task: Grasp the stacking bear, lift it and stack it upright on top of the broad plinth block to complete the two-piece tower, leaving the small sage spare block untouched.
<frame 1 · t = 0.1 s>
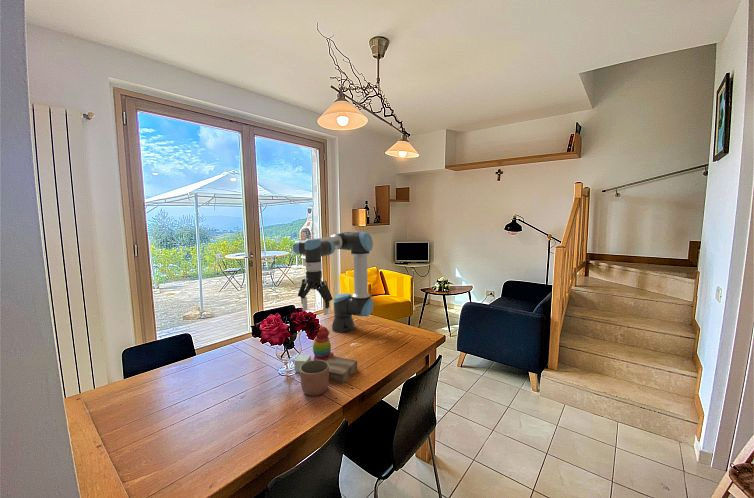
hand: (315, 312, 151), 28 cm above the table, fingers open, 13 cm apart
spare block: (303, 369, 151), on the table
stacking bear: (323, 359, 161), on the table
planter: (315, 390, 133), on the table
plinth: (337, 374, 146), on the table
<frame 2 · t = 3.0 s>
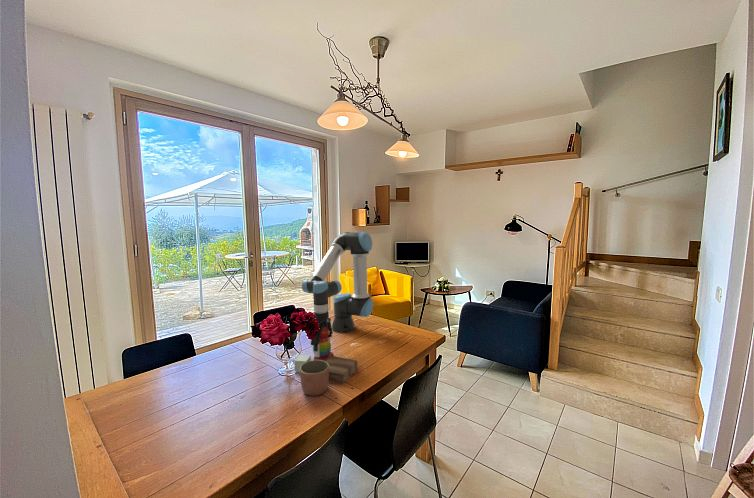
hand: (322, 352, 161), 4 cm above the table, fingers closed on stacking bear, 9 cm apart
stacking bear: (323, 359, 161), on the table, touching gripper
everything else where it was.
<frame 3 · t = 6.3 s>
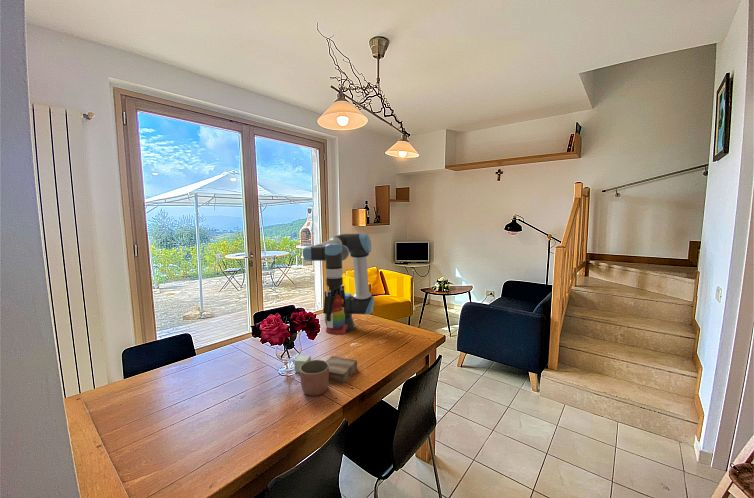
hand: (335, 323, 143), 25 cm above the table, fingers closed on stacking bear, 9 cm apart
stacking bear: (336, 331, 144), point 21 cm above the table, touching gripper
everything else where it was.
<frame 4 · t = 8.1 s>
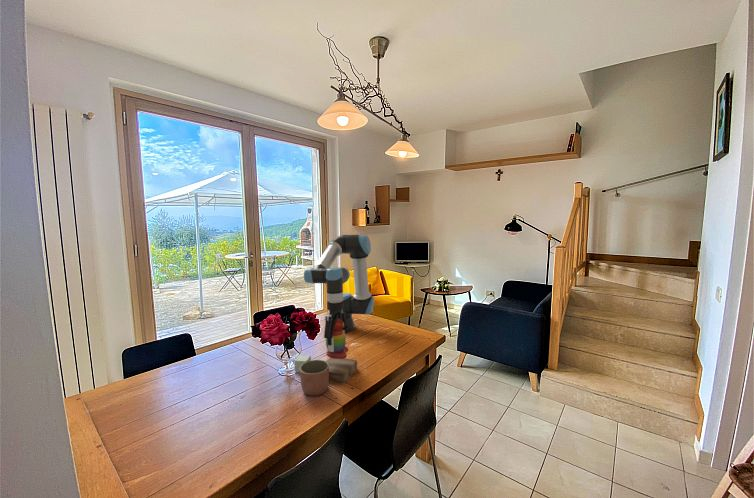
hand: (336, 346, 144), 13 cm above the table, fingers closed on stacking bear, 9 cm apart
stacking bear: (337, 354, 145), point 10 cm above the table, touching gripper
everything else where it was.
when the fingers open (9 cm above the table, at t = 9.5 s): stacking bear drops 1 cm, resting on plinth.
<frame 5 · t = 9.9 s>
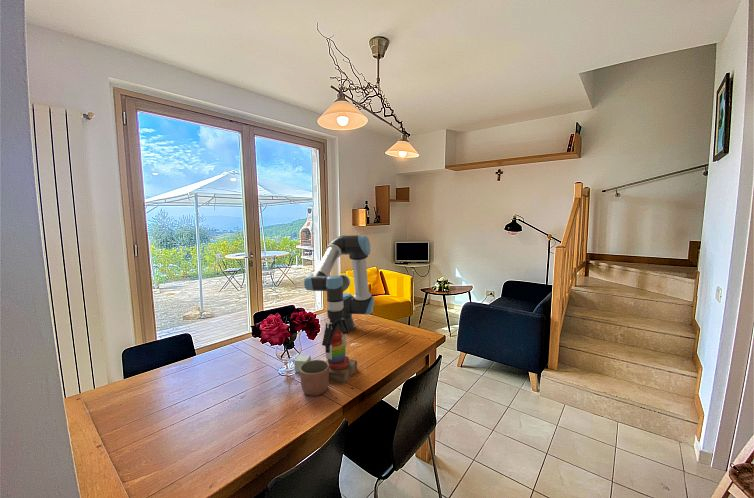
hand: (336, 352, 145), 11 cm above the table, fingers open, 13 cm apart
stacking bear: (337, 364, 146), point 5 cm above the table, touching plinth
plinth: (337, 374, 146), on the table, touching stacking bear
everything else where it was.
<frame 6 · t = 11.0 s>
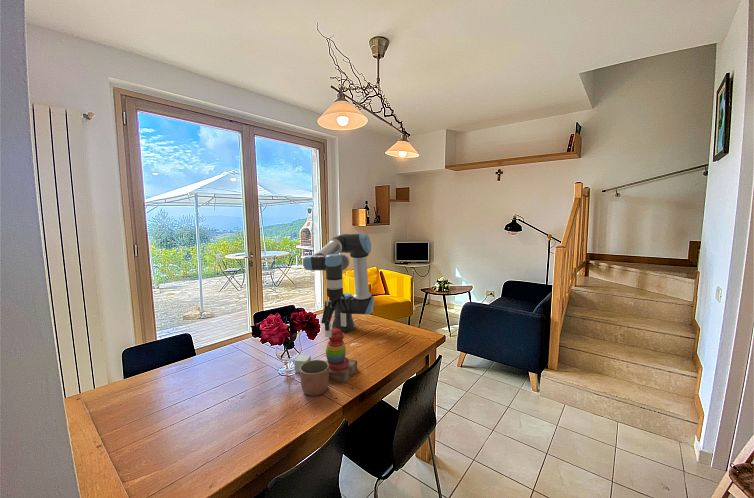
hand: (336, 331, 144), 21 cm above the table, fingers open, 13 cm apart
stacking bear: (337, 365, 146), point 4 cm above the table
plinth: (337, 374, 146), on the table
everything else where it was.
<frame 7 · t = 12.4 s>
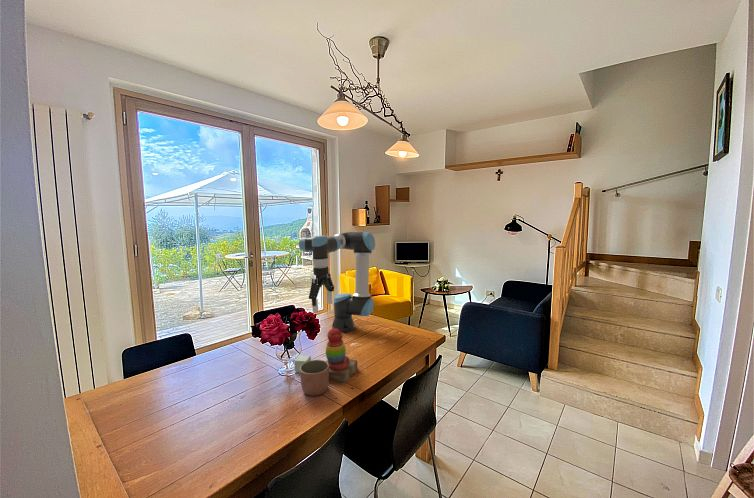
hand: (322, 307, 155), 29 cm above the table, fingers open, 13 cm apart
nothing on the table moved.
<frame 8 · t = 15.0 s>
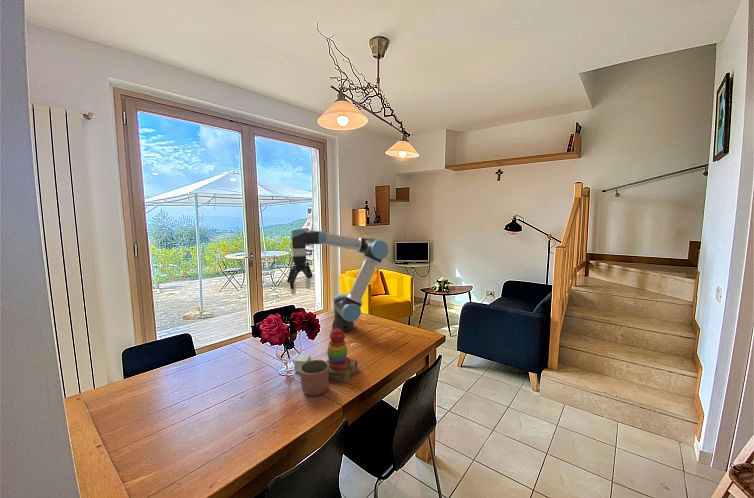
hand: (301, 291, 177), 32 cm above the table, fingers open, 13 cm apart
stacking bear: (338, 365, 146), point 4 cm above the table, touching plinth
plinth: (338, 374, 146), on the table, touching stacking bear
everything else where it was.
at the end: stacking bear inside the target area on the plinth (0.2 cm from its centre), point 4.9 cm above the plinth's base; stacking bear tilted 1°; the gripper is holding nothing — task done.
